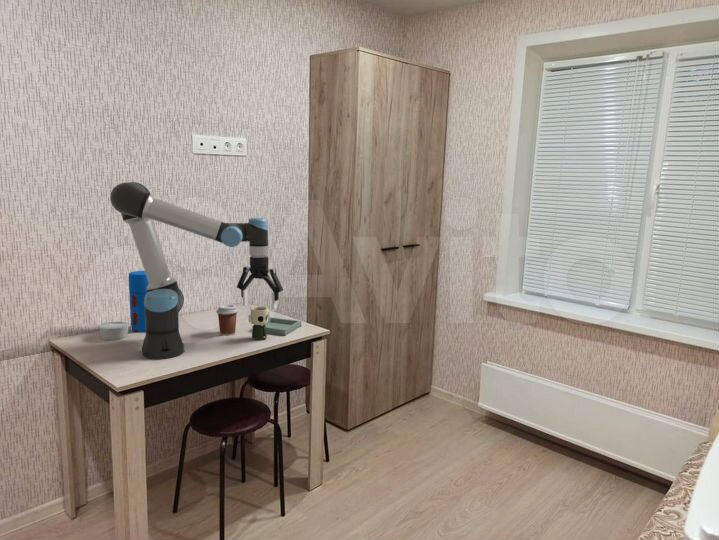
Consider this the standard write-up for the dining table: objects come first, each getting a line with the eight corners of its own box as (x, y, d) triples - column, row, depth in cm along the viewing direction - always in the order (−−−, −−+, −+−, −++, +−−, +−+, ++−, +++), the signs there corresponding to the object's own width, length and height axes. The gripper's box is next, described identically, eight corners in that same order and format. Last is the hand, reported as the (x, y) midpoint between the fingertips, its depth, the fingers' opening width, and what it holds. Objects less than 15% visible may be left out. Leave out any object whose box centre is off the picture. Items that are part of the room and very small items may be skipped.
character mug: (254, 343, 209) (254, 312, 207) (243, 339, 213) (243, 309, 211) (274, 337, 217) (275, 307, 215) (264, 334, 222) (263, 304, 219)
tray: (285, 335, 220) (285, 330, 220) (252, 331, 225) (252, 325, 225) (301, 326, 235) (301, 320, 235) (270, 322, 240) (270, 317, 240)
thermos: (125, 331, 221) (122, 273, 216) (142, 324, 231) (140, 269, 226) (146, 333, 217) (144, 275, 213) (163, 327, 228) (161, 271, 223)
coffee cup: (217, 337, 215) (216, 309, 213) (216, 331, 224) (215, 304, 222) (239, 335, 218) (239, 308, 216) (237, 329, 227) (237, 303, 225)
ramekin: (130, 332, 219) (129, 320, 218) (128, 340, 209) (127, 327, 208) (101, 334, 215) (100, 322, 214) (97, 342, 205) (96, 329, 204)
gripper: (290, 256, 209) (291, 307, 212) (237, 253, 217) (238, 302, 220) (282, 259, 202) (282, 311, 205) (227, 255, 210) (228, 306, 213)
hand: (260, 306), depth 213 cm, fingers open, 13 cm apart
